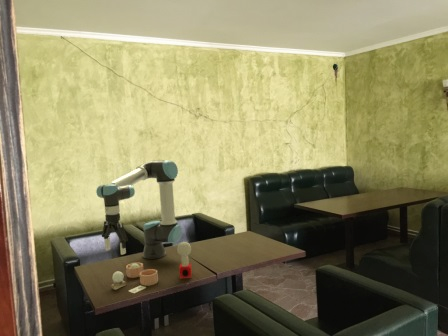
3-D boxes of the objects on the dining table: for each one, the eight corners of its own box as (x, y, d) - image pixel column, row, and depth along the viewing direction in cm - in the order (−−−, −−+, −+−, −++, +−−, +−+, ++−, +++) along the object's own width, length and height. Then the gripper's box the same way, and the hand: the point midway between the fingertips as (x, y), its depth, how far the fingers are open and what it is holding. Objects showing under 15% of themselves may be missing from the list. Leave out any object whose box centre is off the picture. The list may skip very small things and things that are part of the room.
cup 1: (123, 275, 217) (123, 266, 217) (136, 270, 224) (135, 261, 224) (134, 279, 211) (133, 269, 211) (146, 273, 219) (146, 264, 218)
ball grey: (110, 283, 201) (109, 272, 200) (119, 279, 206) (118, 268, 205) (117, 285, 197) (116, 274, 197) (126, 281, 202) (125, 271, 201)
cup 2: (137, 283, 205) (136, 273, 204) (150, 277, 212) (149, 268, 212) (148, 287, 199) (147, 277, 199) (161, 280, 206) (160, 271, 206)
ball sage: (127, 274, 217) (127, 264, 217) (136, 270, 222) (135, 261, 221) (134, 276, 214) (133, 266, 213) (142, 272, 218) (141, 263, 218)
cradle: (111, 288, 200) (111, 283, 200) (122, 283, 205) (122, 279, 205) (115, 289, 198) (114, 284, 198) (126, 285, 203) (125, 280, 203)
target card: (128, 291, 195) (128, 290, 195) (140, 285, 201) (140, 285, 201) (134, 293, 192) (134, 292, 192) (146, 287, 198) (146, 287, 198)
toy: (193, 272, 216) (191, 239, 214) (192, 278, 208) (190, 243, 206) (179, 273, 215) (177, 240, 213) (178, 279, 207) (175, 244, 205)
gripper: (93, 212, 202) (96, 250, 204) (120, 217, 187) (124, 257, 189) (104, 209, 208) (107, 246, 210) (132, 214, 193) (135, 253, 195)
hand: (115, 251), depth 200 cm, fingers open, 13 cm apart
